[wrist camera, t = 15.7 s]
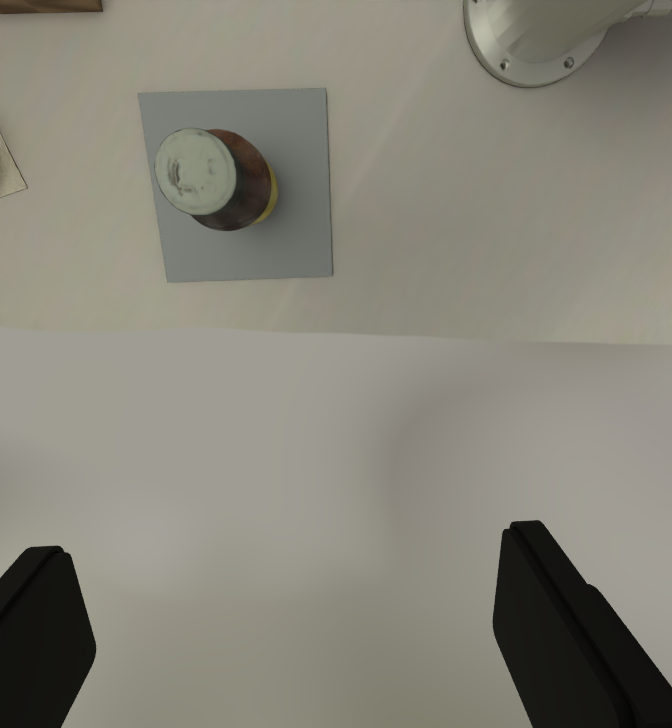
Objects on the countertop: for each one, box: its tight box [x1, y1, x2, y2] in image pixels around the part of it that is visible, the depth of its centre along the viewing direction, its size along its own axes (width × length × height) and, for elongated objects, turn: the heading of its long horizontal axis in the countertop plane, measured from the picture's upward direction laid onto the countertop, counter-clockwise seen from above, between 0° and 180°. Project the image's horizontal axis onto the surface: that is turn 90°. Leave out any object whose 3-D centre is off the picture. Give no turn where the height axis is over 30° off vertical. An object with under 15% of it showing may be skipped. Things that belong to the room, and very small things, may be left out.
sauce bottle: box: [154, 128, 278, 231], centre depth 31 cm, size 6×6×20 cm
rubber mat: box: [138, 88, 332, 282], centre depth 40 cm, size 16×16×1 cm
